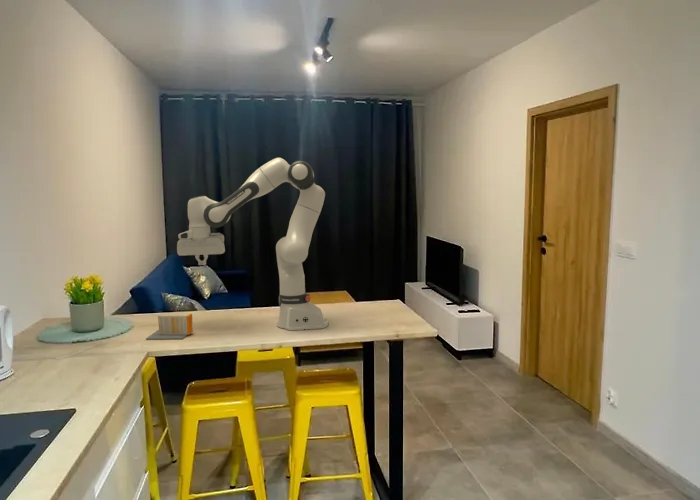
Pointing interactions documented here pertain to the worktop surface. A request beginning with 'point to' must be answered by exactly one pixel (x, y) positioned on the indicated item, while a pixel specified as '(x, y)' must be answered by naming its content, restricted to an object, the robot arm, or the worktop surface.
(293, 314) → the robot arm
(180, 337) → the rubber mat
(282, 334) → the worktop surface
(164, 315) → the supplement box
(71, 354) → the butter knife
